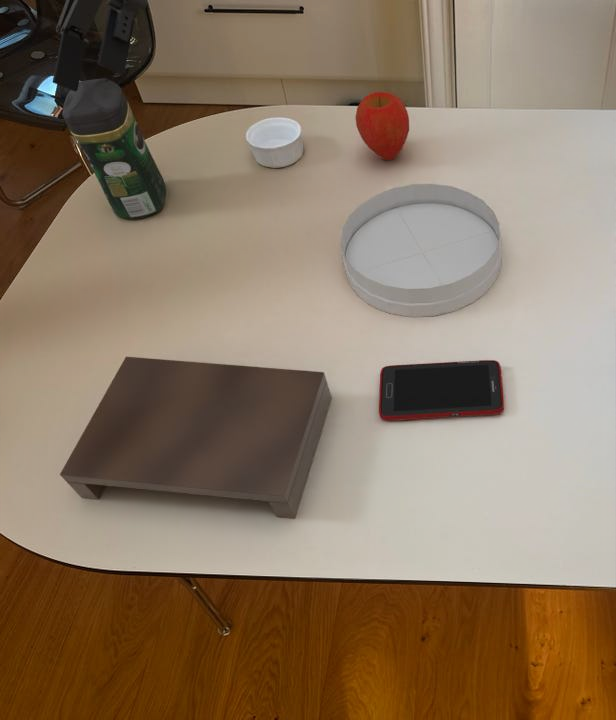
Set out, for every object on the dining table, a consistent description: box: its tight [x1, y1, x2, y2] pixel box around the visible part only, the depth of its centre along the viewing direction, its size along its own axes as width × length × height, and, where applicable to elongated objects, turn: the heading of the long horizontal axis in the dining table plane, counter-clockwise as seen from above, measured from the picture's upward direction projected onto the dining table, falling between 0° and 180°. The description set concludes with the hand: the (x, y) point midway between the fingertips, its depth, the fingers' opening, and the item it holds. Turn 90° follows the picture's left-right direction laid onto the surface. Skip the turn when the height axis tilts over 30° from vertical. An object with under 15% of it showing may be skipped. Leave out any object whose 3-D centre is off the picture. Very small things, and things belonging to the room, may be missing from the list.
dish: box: [340, 183, 503, 318], centre depth 98 cm, size 22×22×5 cm
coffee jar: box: [61, 78, 167, 220], centre depth 102 cm, size 10×8×19 cm
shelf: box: [59, 356, 333, 519], centre depth 79 cm, size 24×16×5 cm, turn 83°
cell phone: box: [378, 359, 505, 421], centre depth 84 cm, size 8×15×1 cm, turn 93°
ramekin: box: [245, 117, 304, 169], centre depth 115 cm, size 9×9×4 cm
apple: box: [355, 91, 410, 161], centre depth 112 cm, size 9×8×11 cm
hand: (86, 78), depth 86 cm, fingers open, 13 cm apart
